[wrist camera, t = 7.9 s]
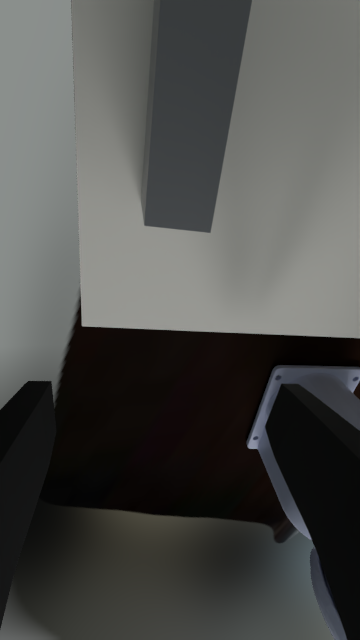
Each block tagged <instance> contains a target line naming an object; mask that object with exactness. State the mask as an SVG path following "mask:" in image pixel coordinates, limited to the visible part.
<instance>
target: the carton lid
mask: <svg viewBox="0 0 360 640" xmlns="http://www.w3.org/2000/svg"><path fill="white" fill-rule="evenodd" d="M71 8H72V37H73V38H72V39H73V65H74V66H73V69H74V100H75V130H76V160H77V188H78V221H79V250H80V281H81V311H82V326H90V327H113V328H136V329H160V330H183V331H206V332H229V333H252V334H275V335H298V336H321V337H344V338H360V0H71Z"/></svg>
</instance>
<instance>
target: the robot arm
mask: <svg viewBox="0 0 360 640" xmlns="http://www.w3.org/2000/svg"><path fill="white" fill-rule="evenodd" d="M278 375H279V376H278ZM276 376H278V377H276ZM359 381H360V367H341V366H297V365H278V366H276V367H274V368H273V370H272V373H271V376H270V378H269V381H268V384H267V387H266V390H265V392H264V395H263V398H262V401H261V404H260V406H259V409H258V412H257V415H256V418H255V420H254V423H253V426H252V429H251V432H250V434H249V437H248V440H247V446H248V448H250V449H258V451H259V453H260V455H261V458H262V460H263V462H264V465H265V467H266V470H267V472H268V474H269V477H270V479H271V481H272V484H273V486H274V489H275V491H276V493H277V496H278V498H279V500H280V503H281V505H282V508H283V510H284V512H285V513H286V515H287V517H288V518H289V520H290V521H291V522H292V524H293V525H294V526H295V527H296V528H297V529H298V530H299V531H300V532H301V533H302V534H304V535H305V536H306V537H307V538H309V539H310V540H312V541H313V544H314V546H315V547H314V548H313V549H312V551H311V555H310V566H311V580H312V585H313V589H314V593H315V596H316V599H317V602H318V605H319V607H320V610H321V613H322V615H323V617H324V620H325V622H326V624H327V626H328V628H329V630H330V632H331V634H332V636H333V638H334V640H360V400H359V399H358V398H357V397H356V396H355V395H354V394H353V392H354V390H355V388H356V386H357V384H358V383H359ZM55 435H56V423H55V413H54V403H53V394H52V384H51V381H28V382H27V383H26V384H24V386H23V387H22V388H21V389H20V390H19V391H18V392H17V393H16V394H15V395H14V396H13V397H12V398H11V399H10V400H9V401H8V402H7V404H5V406H4V407H3V408H2V409H1V410H0V628H1V624H2V620H3V616H4V611H5V607H6V603H7V599H8V595H9V591H10V587H11V583H12V579H13V575H14V572H15V569H16V565H17V562H18V558H19V555H20V552H21V549H22V546H23V543H24V540H25V537H26V534H27V531H28V528H29V525H30V522H31V519H32V516H33V513H34V510H35V507H36V504H37V501H38V498H39V495H40V492H41V489H42V486H43V483H44V479H45V476H46V473H47V470H48V467H49V463H50V458H51V454H52V449H53V444H54V440H55Z"/></svg>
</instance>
